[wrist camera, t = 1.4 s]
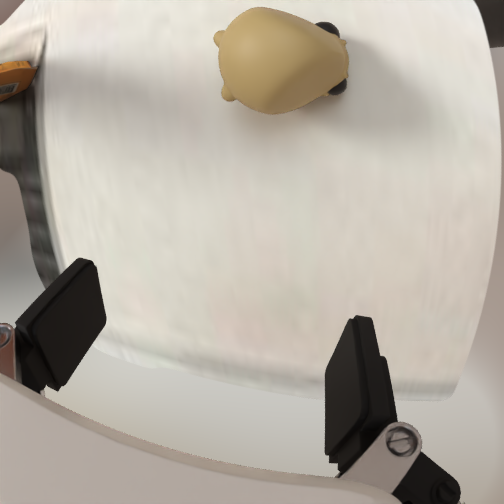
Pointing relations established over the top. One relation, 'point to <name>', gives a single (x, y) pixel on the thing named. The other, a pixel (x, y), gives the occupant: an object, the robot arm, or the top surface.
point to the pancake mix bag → (15, 78)
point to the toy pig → (280, 60)
